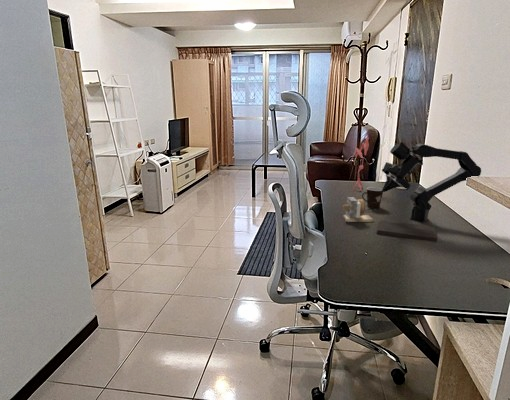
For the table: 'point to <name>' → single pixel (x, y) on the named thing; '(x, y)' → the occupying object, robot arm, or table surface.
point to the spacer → (358, 210)
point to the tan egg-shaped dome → (362, 209)
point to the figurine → (362, 160)
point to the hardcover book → (407, 230)
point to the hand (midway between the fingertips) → (382, 191)
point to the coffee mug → (373, 197)
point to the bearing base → (362, 219)
